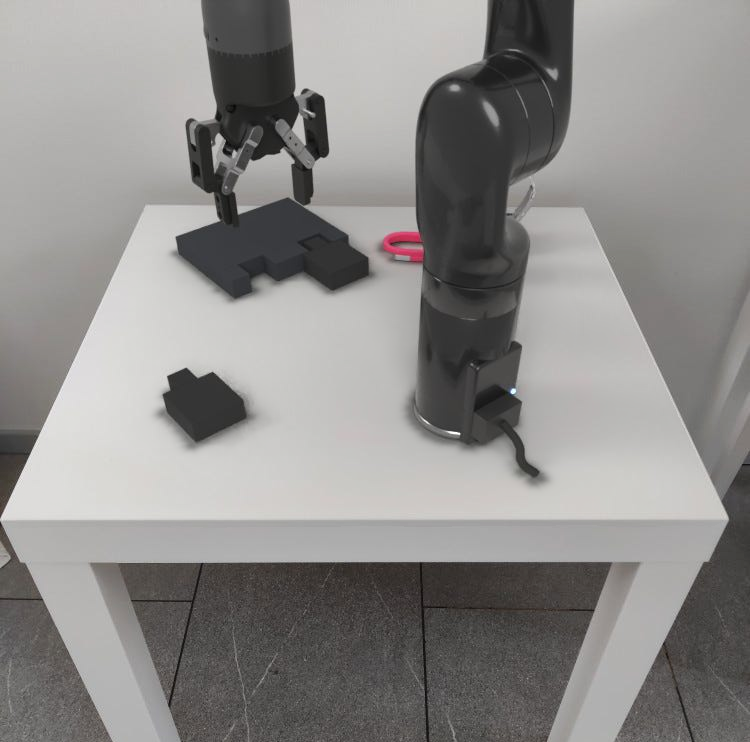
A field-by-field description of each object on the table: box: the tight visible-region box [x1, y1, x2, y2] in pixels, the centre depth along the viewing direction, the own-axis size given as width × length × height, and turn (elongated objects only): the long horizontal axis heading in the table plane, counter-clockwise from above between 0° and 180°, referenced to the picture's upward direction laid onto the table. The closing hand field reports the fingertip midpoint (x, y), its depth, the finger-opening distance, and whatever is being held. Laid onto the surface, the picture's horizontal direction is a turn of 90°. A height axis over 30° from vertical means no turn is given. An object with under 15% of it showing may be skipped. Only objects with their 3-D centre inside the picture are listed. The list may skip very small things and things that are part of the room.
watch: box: [506, 174, 537, 223], centre depth 100 cm, size 6×8×11 cm
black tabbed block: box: [303, 237, 370, 291], centre depth 99 cm, size 8×6×2 cm
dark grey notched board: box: [175, 196, 350, 299], centre depth 101 cm, size 14×18×2 cm
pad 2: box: [162, 367, 247, 443], centre depth 79 cm, size 8×6×2 cm
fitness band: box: [382, 231, 423, 262], centre depth 102 cm, size 8×6×2 cm
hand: (267, 213), depth 78 cm, fingers open, 8 cm apart
